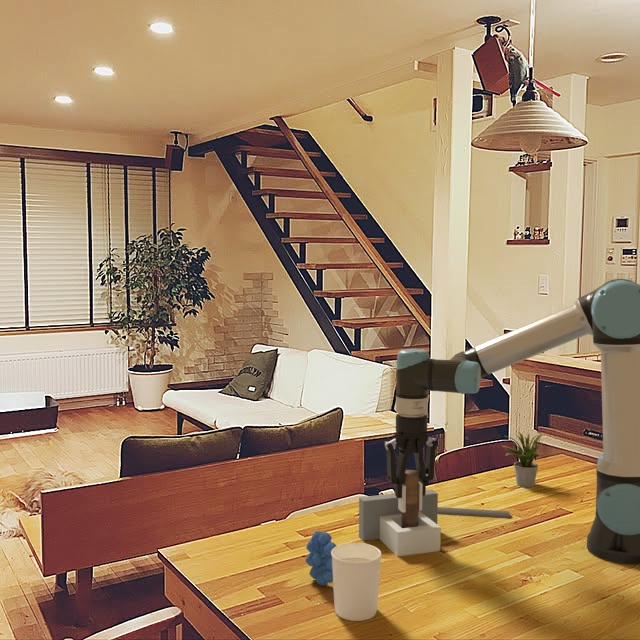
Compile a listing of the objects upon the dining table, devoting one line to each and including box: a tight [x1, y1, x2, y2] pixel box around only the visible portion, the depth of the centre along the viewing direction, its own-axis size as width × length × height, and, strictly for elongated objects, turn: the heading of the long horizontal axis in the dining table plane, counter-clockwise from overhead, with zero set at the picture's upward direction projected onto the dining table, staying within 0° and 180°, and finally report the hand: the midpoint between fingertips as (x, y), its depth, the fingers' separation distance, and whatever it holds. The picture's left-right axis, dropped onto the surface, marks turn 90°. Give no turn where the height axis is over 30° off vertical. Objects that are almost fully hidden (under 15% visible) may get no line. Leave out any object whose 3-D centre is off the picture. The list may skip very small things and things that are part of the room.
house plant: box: [500, 431, 546, 488], centre depth 227 cm, size 14×14×16 cm
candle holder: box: [331, 542, 382, 622], centre depth 146 cm, size 10×10×12 cm
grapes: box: [305, 530, 337, 587], centre depth 157 cm, size 12×7×12 cm, turn 30°
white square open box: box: [379, 512, 441, 557], centre depth 179 cm, size 11×11×6 cm
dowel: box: [402, 469, 419, 528], centre depth 179 cm, size 4×4×14 cm
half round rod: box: [437, 506, 511, 519], centre depth 201 cm, size 4×20×2 cm, turn 80°
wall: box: [358, 489, 439, 542], centre depth 186 cm, size 3×20×10 cm, turn 107°
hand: (410, 509), depth 179 cm, fingers closed on dowel, 4 cm apart
